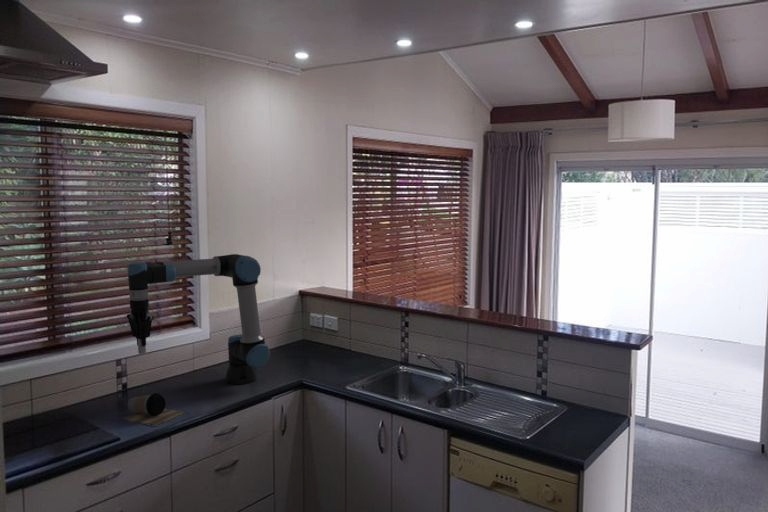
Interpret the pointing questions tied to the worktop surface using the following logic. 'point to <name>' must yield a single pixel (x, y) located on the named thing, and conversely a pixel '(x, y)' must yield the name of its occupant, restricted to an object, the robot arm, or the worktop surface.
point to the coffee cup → (147, 404)
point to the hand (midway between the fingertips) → (142, 353)
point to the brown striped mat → (153, 417)
